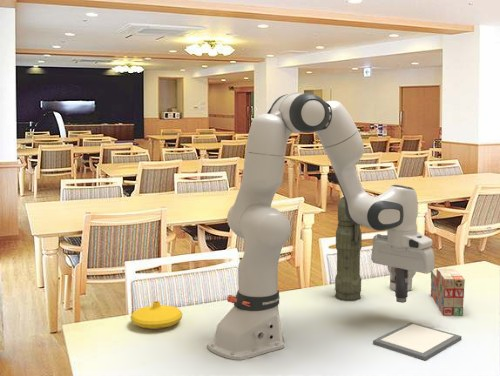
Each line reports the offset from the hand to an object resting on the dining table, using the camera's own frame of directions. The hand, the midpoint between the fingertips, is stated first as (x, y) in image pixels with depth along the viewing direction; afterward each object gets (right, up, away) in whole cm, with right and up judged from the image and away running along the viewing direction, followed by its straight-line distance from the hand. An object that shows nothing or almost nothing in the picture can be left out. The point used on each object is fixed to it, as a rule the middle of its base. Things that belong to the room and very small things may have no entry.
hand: (401, 282), depth 183 cm
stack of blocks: (+19, -10, +15) cm, 26 cm away
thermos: (-13, -9, +24) cm, 29 cm away
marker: (0, -6, +1) cm, 6 cm away
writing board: (0, -14, -16) cm, 21 cm away
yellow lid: (-75, -13, 0) cm, 76 cm away
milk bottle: (+8, -8, +33) cm, 35 cm away
